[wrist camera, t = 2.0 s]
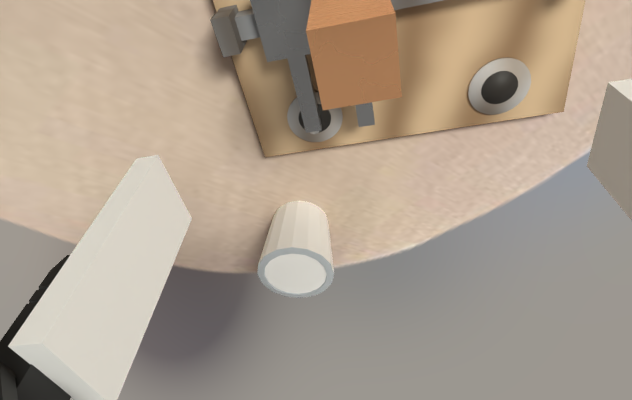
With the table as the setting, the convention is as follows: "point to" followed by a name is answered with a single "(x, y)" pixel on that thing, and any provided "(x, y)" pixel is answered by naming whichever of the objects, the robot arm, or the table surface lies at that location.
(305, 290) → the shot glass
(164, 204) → the robot arm
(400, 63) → the bolt plate
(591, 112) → the table surface
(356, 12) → the block
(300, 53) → the fixed leg
